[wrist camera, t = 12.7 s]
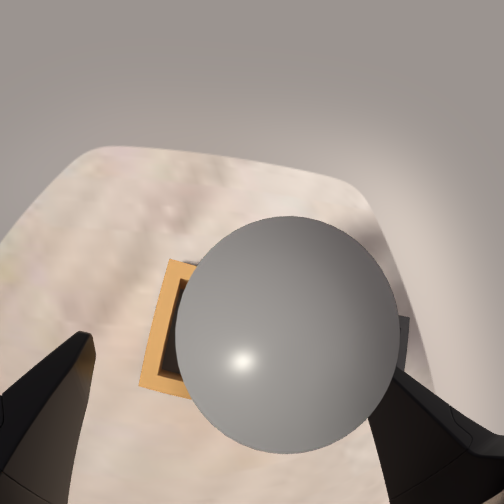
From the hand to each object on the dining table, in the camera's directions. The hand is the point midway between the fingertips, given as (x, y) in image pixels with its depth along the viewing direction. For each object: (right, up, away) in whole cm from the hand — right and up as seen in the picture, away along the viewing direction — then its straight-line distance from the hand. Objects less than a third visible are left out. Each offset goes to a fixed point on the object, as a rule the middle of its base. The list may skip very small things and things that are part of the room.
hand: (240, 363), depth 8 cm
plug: (-2, -2, +8) cm, 9 cm away
